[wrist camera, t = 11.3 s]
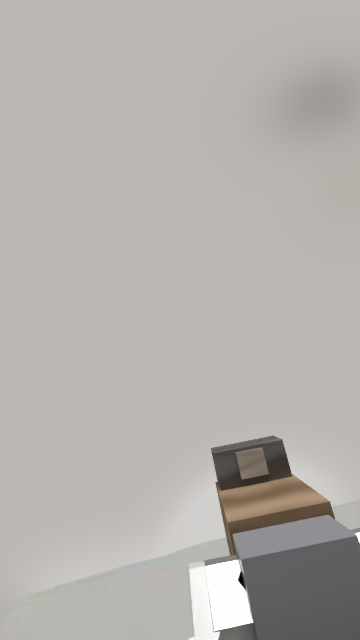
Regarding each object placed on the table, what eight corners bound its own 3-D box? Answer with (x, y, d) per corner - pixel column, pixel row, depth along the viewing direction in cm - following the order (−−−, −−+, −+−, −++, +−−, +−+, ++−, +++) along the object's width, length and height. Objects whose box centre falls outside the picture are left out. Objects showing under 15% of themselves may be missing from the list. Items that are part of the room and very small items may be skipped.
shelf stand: (468, 963, 17) (314, 451, 25) (324, 998, 17) (217, 471, 25) (355, 734, 28) (275, 435, 36) (269, 752, 28) (208, 448, 36)
